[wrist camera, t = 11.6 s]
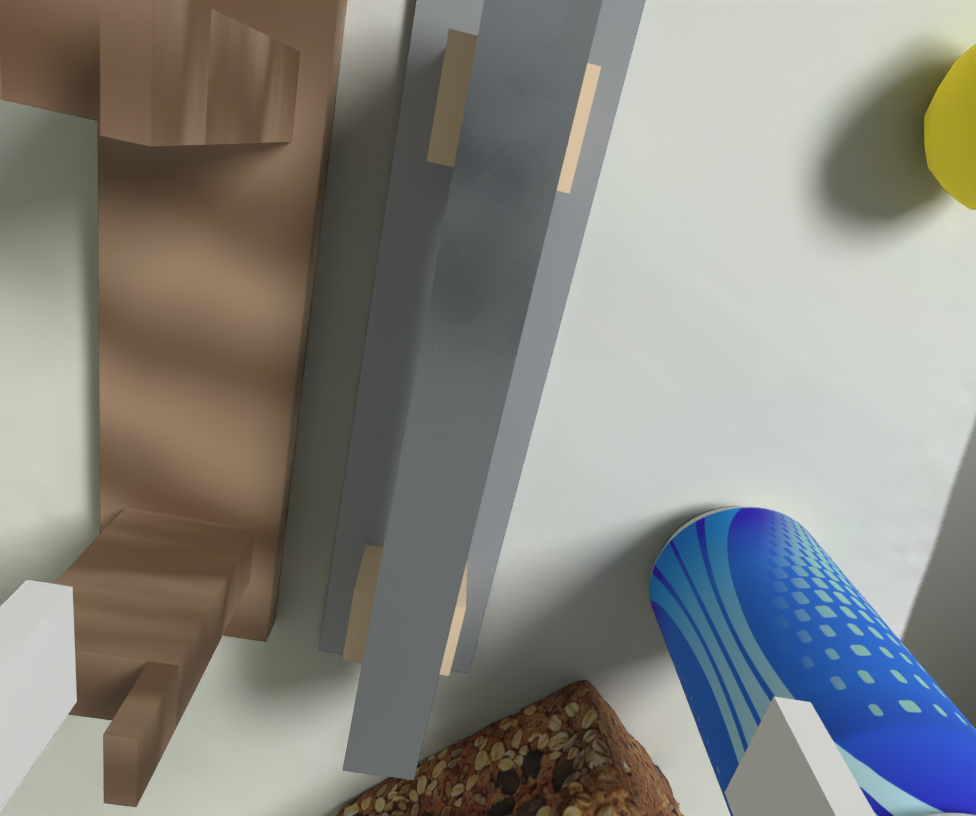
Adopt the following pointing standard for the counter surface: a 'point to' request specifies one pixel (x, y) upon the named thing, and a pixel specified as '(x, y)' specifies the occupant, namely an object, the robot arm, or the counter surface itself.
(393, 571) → the steel rail
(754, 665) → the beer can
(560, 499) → the counter surface
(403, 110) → the slate mat with oak rests
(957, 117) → the lemon
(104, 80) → the walnut rack
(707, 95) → the counter surface
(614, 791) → the bread
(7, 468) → the counter surface
